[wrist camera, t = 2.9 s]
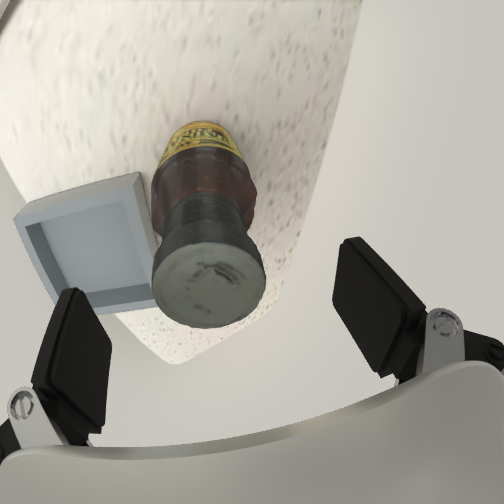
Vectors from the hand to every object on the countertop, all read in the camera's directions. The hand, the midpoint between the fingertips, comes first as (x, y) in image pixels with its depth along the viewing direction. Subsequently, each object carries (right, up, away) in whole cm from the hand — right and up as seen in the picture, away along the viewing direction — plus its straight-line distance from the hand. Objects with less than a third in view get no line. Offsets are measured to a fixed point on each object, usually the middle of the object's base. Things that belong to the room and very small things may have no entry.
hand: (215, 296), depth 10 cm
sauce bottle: (-4, +11, +16) cm, 20 cm away
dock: (-16, +2, +19) cm, 25 cm away
